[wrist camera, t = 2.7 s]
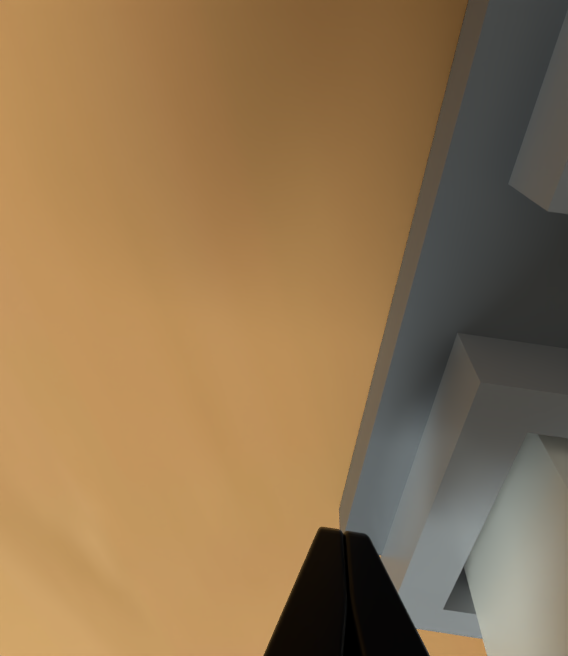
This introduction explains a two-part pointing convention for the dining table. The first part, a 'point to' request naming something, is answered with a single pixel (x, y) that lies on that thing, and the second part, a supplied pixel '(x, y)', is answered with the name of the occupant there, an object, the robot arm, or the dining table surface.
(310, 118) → the dining table surface
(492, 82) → the switch board
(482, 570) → the tab
